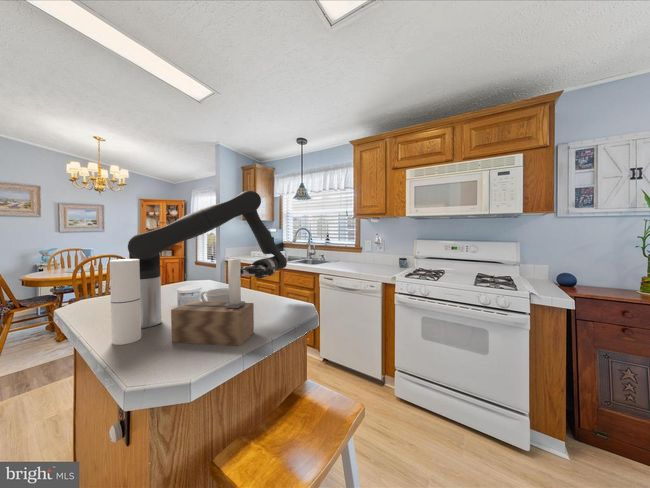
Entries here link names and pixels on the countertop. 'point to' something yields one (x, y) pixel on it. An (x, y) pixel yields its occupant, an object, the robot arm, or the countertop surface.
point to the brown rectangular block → (212, 323)
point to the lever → (234, 284)
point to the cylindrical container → (125, 301)
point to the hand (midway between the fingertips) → (247, 273)
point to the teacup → (216, 295)
